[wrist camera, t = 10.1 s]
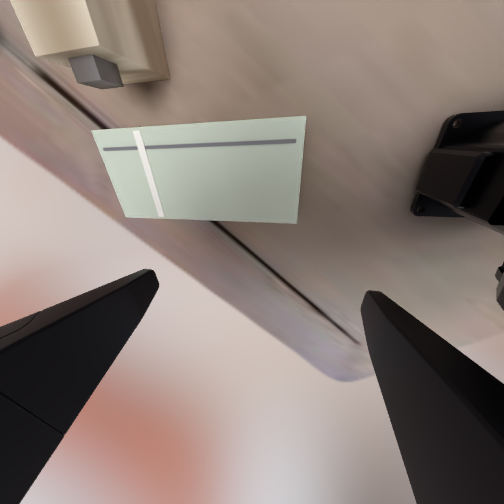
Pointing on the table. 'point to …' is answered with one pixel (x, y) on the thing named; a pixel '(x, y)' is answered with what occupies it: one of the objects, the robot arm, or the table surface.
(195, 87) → the table surface
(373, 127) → the table surface
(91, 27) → the stacked beige grey blocks
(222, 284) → the table surface
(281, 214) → the painted board
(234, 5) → the table surface
